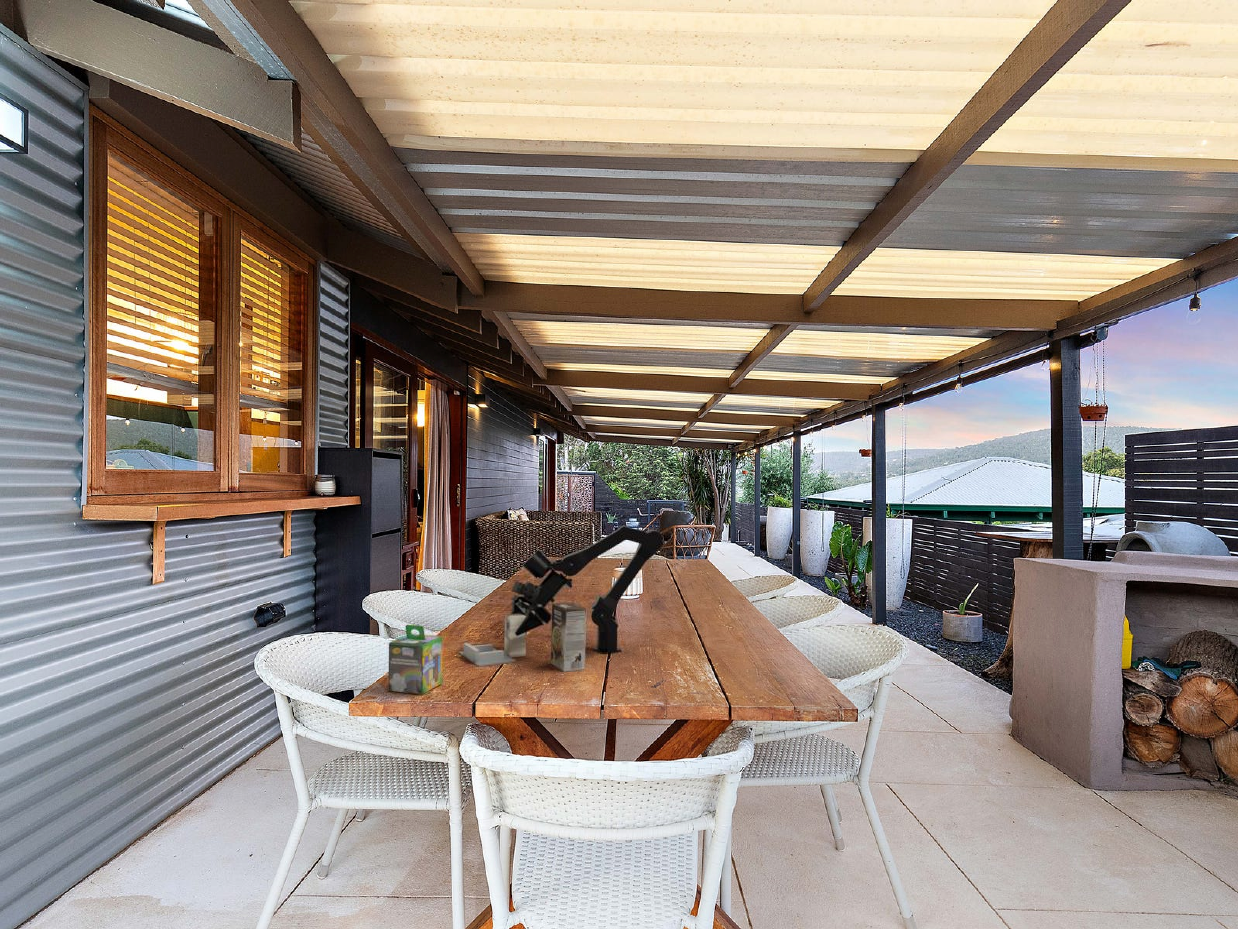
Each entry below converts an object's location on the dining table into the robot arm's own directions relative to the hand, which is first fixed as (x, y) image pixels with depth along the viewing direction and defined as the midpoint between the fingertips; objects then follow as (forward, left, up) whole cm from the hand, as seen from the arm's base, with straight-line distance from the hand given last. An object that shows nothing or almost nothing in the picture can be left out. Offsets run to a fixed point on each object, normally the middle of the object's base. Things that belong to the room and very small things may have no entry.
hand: (510, 631), depth 190 cm
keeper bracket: (0, +7, -7) cm, 10 cm away
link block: (0, -1, -7) cm, 7 cm away
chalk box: (-18, +31, -7) cm, 37 cm away
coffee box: (-18, -9, -7) cm, 21 cm away
